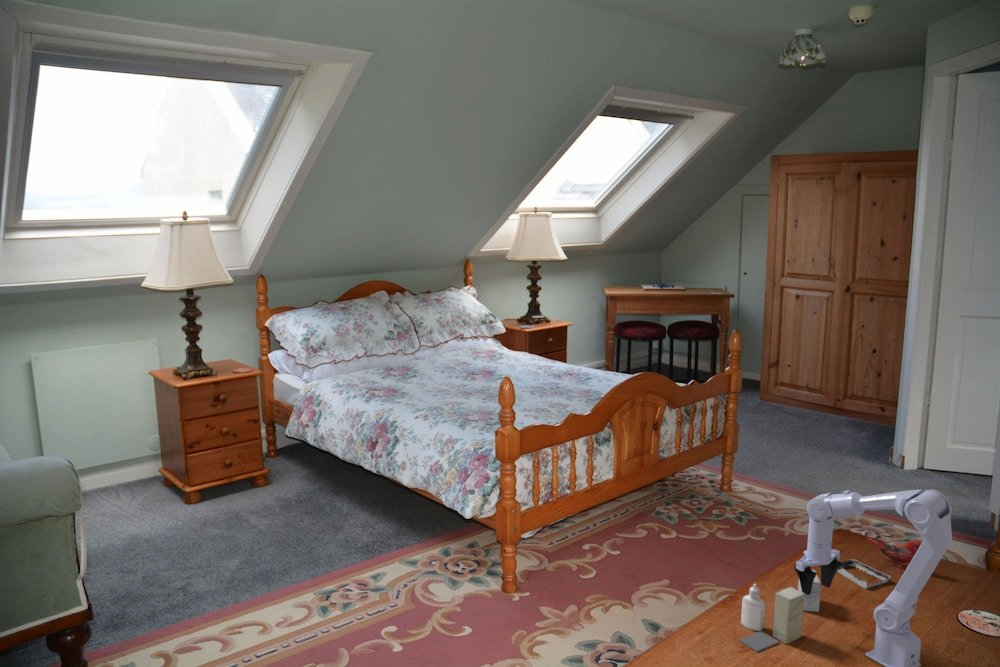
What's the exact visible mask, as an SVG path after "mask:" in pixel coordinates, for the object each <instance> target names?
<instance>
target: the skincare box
mask: <svg viewBox="0 0 1000 667" xmlns="http://www.w3.org/2000/svg"><path fill="white" fill-rule="evenodd" d="M803 605H804V593H802V592H800V591H798V589H796V588H794V587H792V586H789V587H786V588H784V589H781V590H779V591H777V592H775V599H774V612H773V627H772V629H773V630H772V638H774V639H776V640H777V641H779V642H780V641H781V642H782V643H784V644H785V645H786V644H787V645H788V644H789V643H792V642H794V641H796V640H798V639H801V637H802V630H803V618H804V617H803V614H804V611H803Z"/></svg>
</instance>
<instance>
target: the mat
mask: <svg viewBox="0 0 1000 667" xmlns="http://www.w3.org/2000/svg"><path fill="white" fill-rule="evenodd" d="M739 642H740V643H742V644H743V645H744V646H746V647H748V648H749V649H751V650H752V651H754V652H756V653H759V652H761V651H763V650H767V649H768V648H771V647H773V646H775V645H778V644H780V640H778V639H776V638H775V637H773V636H771V635H770V634H768V633H766V632H764V631H763V630H761V631H757V632H756V633H753V634H751V635H748V636H746V637H743V638H740V639H739Z"/></svg>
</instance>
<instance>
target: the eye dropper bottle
mask: <svg viewBox="0 0 1000 667" xmlns="http://www.w3.org/2000/svg"><path fill="white" fill-rule="evenodd" d="M757 586H758V585H757V583H753V585H752V586H751V587H750V588H749V591H748V592H749V593H748V594H746V595H744V596H743V597H742V602H741V616H740V624H741V625H742V626H743V627H745V629H749V630H751V631H756V632H760V631H763V629H764V628H765V612H766V611H765V610H766V603H765V601H764V600H763V599H762V598H761V597H760V589H759V588H758V587H757Z"/></svg>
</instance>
